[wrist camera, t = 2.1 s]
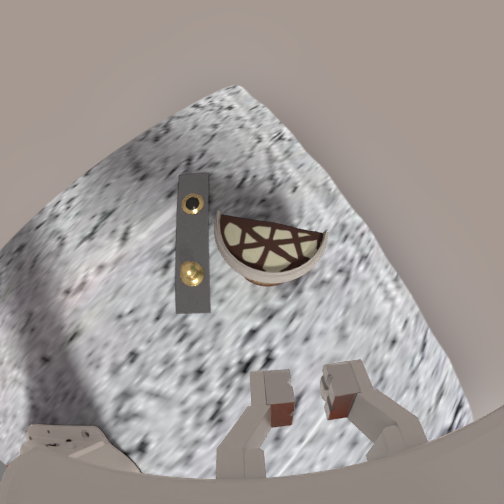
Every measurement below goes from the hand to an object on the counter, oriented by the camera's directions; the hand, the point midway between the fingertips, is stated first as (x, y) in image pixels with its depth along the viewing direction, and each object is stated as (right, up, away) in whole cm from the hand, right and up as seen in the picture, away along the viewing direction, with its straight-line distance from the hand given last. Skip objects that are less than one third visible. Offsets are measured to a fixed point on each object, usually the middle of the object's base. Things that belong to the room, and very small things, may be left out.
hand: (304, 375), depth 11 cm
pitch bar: (-10, +7, +29) cm, 31 cm away
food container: (-1, +2, +28) cm, 28 cm away
